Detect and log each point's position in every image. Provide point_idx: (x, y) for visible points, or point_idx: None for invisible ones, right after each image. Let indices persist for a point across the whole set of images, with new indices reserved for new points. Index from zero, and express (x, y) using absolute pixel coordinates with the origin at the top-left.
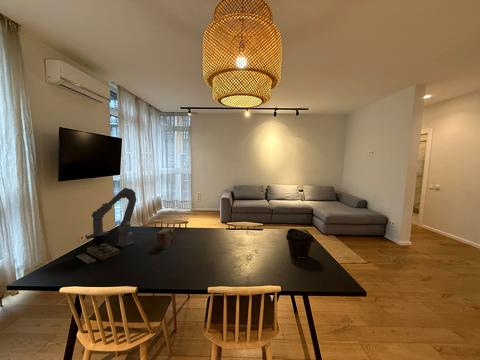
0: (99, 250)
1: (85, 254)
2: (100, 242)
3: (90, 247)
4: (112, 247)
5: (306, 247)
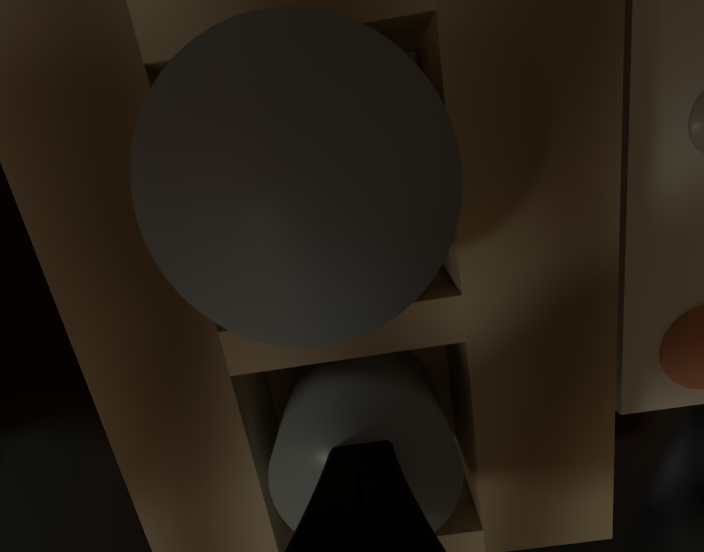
0: None
1: (631, 364)
2: (314, 549)
3: (526, 548)
4: (25, 109)
5: None
